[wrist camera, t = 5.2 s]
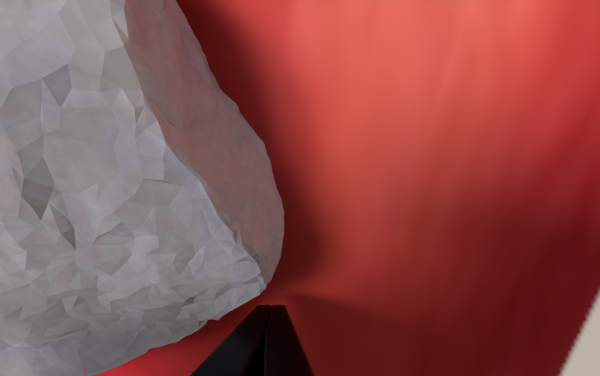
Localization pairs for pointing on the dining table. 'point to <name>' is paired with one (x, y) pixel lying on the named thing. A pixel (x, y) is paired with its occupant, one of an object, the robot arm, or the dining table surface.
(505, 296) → the dining table surface
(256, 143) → the stone block
